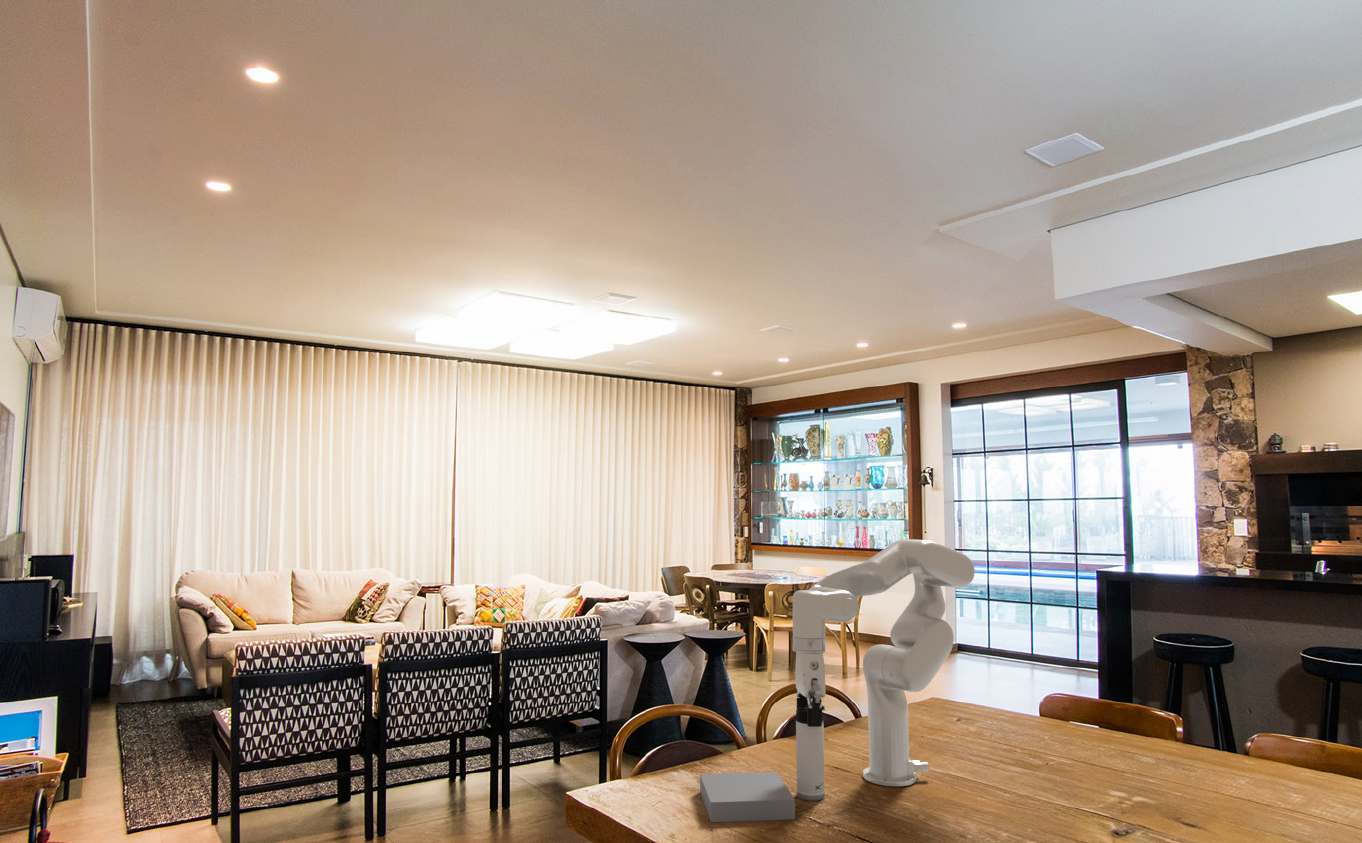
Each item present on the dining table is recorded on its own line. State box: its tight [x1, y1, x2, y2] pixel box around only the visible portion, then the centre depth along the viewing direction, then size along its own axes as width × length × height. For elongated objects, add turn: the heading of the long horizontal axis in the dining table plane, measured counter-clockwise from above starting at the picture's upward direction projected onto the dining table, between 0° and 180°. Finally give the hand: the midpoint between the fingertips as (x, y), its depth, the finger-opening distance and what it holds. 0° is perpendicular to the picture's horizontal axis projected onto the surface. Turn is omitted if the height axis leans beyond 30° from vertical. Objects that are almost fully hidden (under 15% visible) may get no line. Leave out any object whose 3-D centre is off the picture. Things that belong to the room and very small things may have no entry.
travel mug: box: [795, 705, 826, 802], centre depth 186 cm, size 6×7×20 cm
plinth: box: [699, 771, 796, 823], centre depth 179 cm, size 18×18×4 cm
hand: (808, 720), depth 186 cm, fingers open, 9 cm apart
